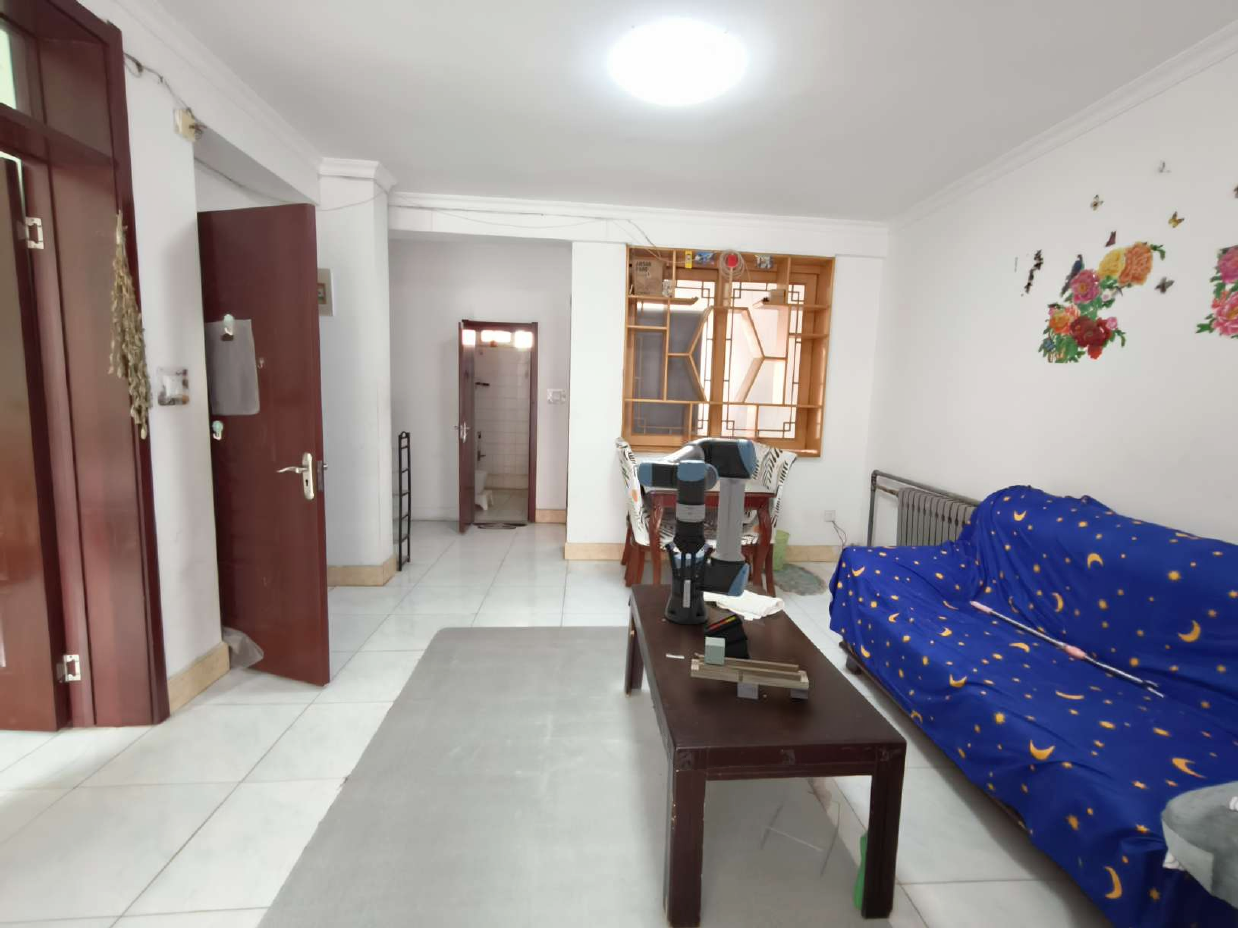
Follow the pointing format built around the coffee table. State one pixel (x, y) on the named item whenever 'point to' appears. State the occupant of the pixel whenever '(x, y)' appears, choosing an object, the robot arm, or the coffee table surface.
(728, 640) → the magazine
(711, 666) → the beam
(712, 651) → the block
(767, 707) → the coffee table surface
